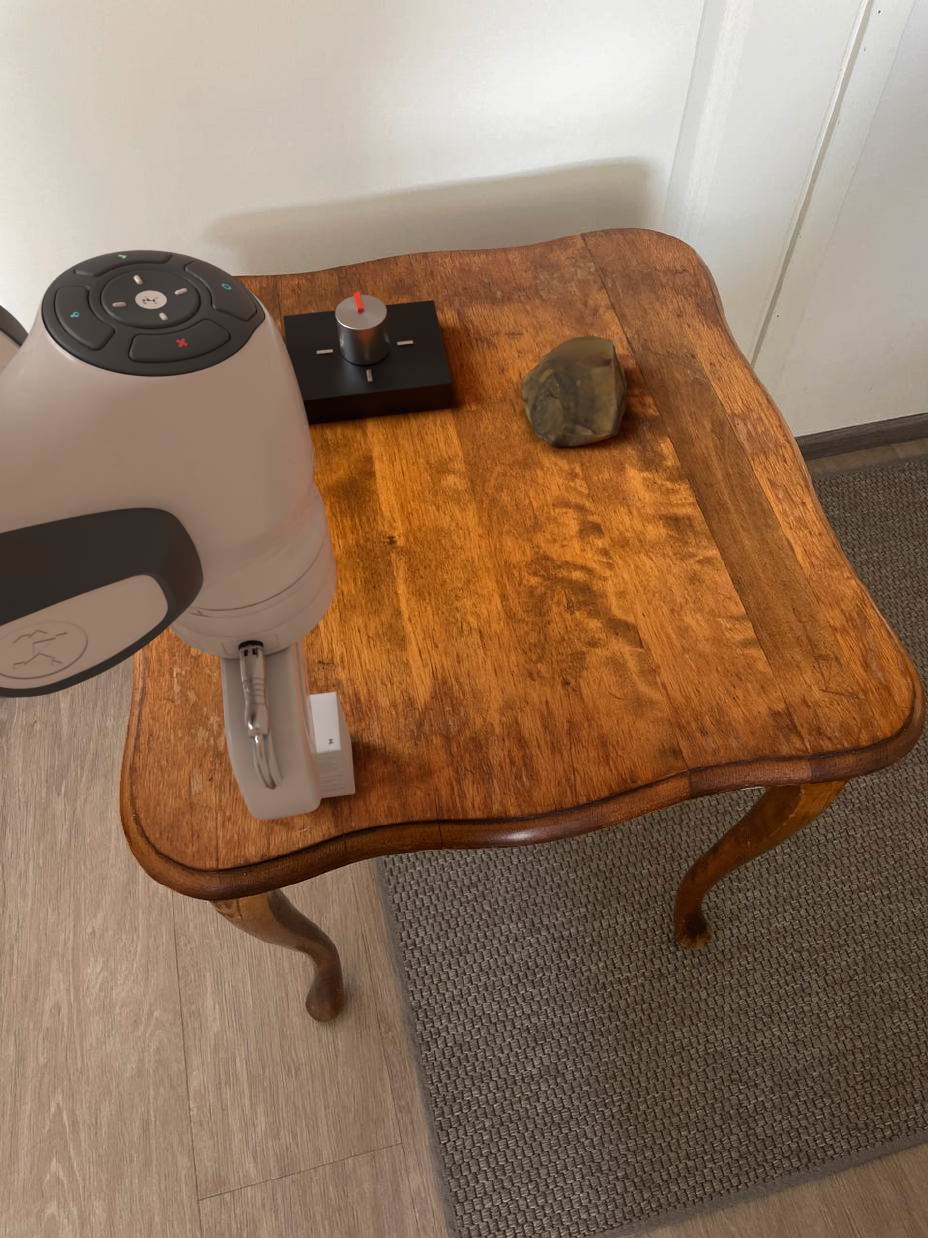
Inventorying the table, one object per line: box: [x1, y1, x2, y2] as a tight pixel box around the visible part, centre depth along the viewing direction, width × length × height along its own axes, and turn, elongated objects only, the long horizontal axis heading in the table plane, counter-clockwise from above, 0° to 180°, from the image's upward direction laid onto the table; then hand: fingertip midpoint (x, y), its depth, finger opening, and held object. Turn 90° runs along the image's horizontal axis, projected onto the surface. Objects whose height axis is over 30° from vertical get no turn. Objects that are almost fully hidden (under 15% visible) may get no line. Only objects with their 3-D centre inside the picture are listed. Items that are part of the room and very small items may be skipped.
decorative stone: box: [521, 335, 628, 448], centre depth 80 cm, size 10×9×4 cm
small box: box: [310, 691, 356, 799], centre depth 60 cm, size 6×4×8 cm
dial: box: [335, 291, 390, 365], centre depth 79 cm, size 4×4×4 cm
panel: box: [282, 299, 453, 425], centre depth 82 cm, size 14×11×3 cm
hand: (286, 689), depth 56 cm, fingers open, 8 cm apart
